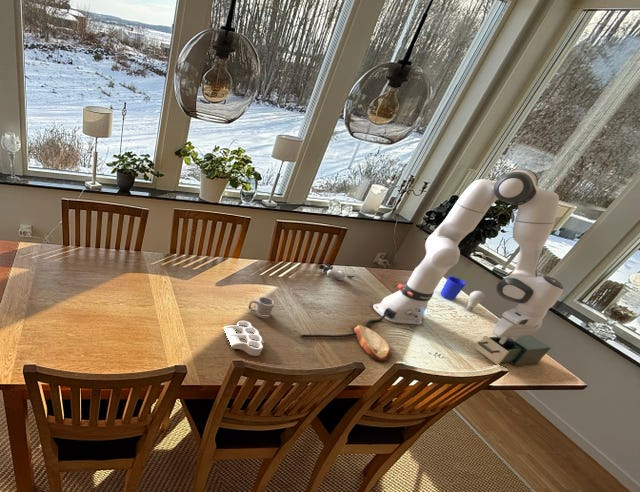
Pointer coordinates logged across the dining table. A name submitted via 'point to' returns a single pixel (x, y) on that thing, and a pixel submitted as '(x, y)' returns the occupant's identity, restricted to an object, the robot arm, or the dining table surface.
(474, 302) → the lightbulb
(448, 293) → the mug
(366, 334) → the bread slice
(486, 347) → the drawer
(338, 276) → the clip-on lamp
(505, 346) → the binder clip
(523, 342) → the cabinet
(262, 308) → the mug
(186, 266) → the dining table surface
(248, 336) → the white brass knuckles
